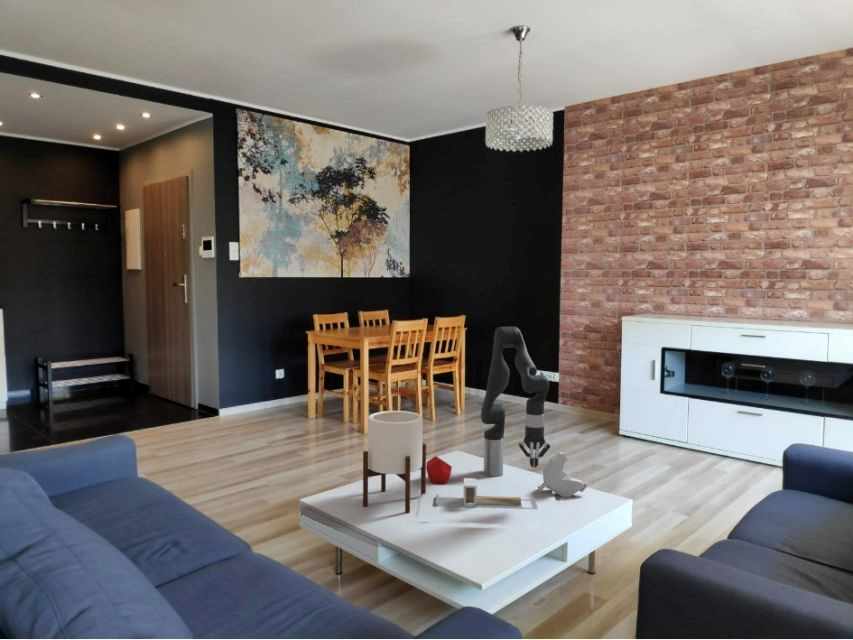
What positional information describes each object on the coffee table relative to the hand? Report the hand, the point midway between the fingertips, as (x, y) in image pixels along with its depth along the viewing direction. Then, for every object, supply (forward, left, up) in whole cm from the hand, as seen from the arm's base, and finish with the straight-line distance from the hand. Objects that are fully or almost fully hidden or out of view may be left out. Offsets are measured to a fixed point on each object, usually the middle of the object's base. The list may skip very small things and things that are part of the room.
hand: (533, 466), depth 242 cm
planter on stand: (-3, -57, -17) cm, 59 cm away
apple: (-29, -40, -17) cm, 52 cm away
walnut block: (0, -26, -16) cm, 30 cm away
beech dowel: (0, -14, -16) cm, 21 cm away
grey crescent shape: (-16, +14, -17) cm, 28 cm away
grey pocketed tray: (0, -20, -17) cm, 26 cm away
